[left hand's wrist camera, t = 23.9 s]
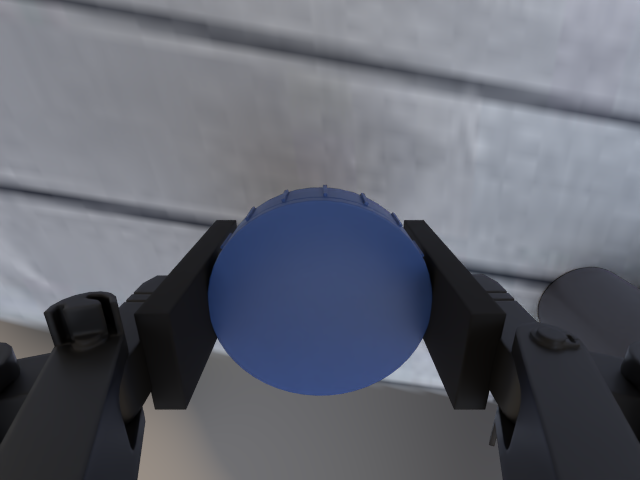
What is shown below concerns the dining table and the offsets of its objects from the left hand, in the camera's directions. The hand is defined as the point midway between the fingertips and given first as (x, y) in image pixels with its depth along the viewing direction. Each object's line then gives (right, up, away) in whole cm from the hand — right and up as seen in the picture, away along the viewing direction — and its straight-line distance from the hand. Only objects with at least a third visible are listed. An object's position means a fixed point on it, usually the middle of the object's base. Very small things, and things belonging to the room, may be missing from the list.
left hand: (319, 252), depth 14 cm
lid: (0, -1, -3) cm, 4 cm away
